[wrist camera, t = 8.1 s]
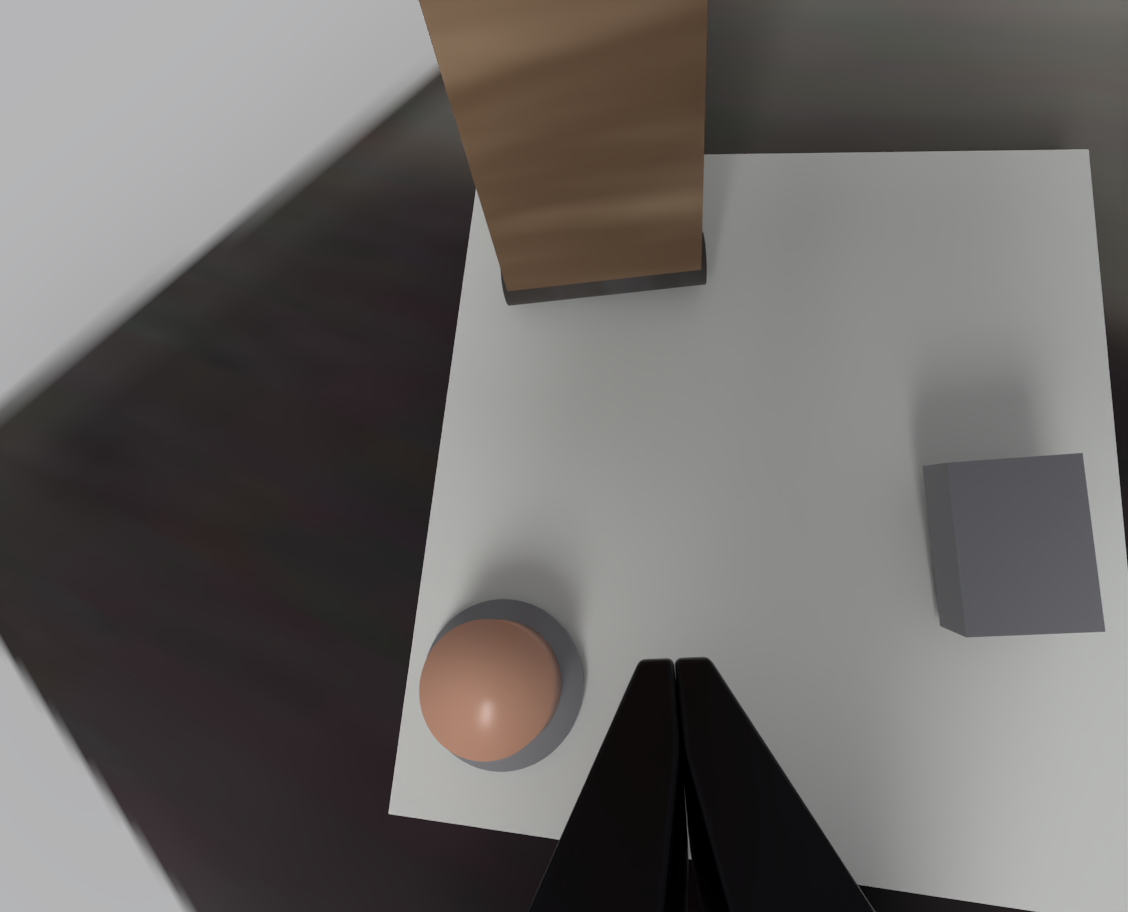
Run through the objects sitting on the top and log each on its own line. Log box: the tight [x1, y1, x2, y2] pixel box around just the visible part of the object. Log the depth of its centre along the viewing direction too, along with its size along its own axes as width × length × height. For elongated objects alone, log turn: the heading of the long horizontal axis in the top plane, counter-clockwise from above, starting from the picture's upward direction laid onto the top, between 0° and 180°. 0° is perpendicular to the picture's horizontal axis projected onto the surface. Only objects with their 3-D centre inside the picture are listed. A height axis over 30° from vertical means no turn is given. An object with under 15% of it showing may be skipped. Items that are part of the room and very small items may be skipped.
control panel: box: [388, 149, 1128, 912], centre depth 21 cm, size 22×20×2 cm
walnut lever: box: [419, 0, 708, 306], centre depth 16 cm, size 3×6×17 cm, turn 93°
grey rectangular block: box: [923, 453, 1105, 637], centre depth 18 cm, size 4×3×2 cm
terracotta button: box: [419, 619, 561, 762], centre depth 19 cm, size 4×4×2 cm
